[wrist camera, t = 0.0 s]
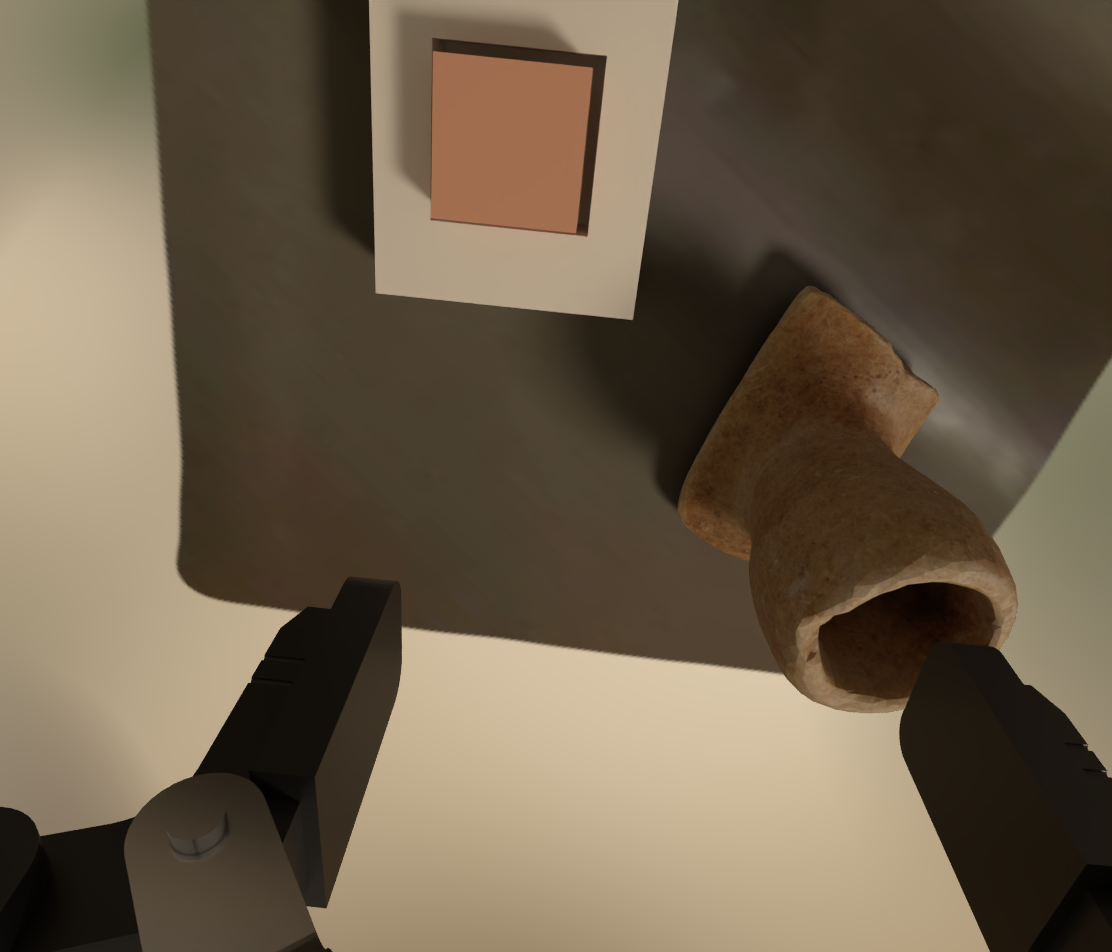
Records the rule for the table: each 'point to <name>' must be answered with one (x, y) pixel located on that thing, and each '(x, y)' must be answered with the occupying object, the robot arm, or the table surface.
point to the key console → (609, 163)
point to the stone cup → (843, 514)
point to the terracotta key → (508, 141)
